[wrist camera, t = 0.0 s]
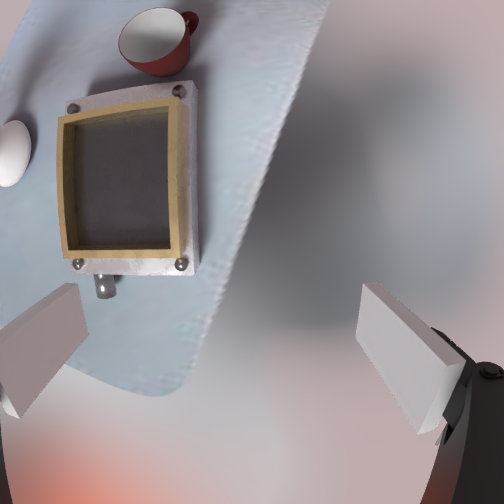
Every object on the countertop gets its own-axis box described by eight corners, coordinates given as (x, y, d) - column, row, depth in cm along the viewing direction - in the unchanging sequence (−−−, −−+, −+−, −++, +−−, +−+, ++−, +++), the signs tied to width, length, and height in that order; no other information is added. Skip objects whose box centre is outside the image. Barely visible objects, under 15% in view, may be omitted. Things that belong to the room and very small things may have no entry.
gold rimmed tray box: (82, 108, 34) (54, 97, 27) (198, 91, 35) (187, 71, 27) (91, 288, 41) (67, 308, 34) (201, 290, 42) (192, 315, 34)
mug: (173, 21, 32) (157, -13, 22) (219, 39, 33) (213, 4, 23) (133, 76, 34) (105, 52, 24) (178, 96, 35) (158, 73, 25)
